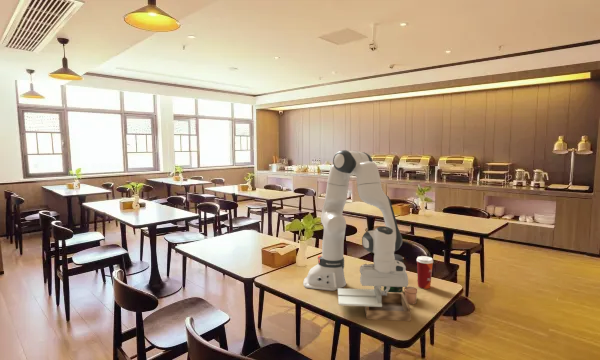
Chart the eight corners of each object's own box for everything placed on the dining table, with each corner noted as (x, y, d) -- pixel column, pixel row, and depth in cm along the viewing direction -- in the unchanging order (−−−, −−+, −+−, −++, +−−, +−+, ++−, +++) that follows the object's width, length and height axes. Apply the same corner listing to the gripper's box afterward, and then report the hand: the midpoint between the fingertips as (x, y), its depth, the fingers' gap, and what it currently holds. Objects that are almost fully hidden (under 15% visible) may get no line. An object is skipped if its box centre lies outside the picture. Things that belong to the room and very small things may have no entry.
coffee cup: (433, 290, 170) (435, 261, 168) (416, 289, 172) (417, 260, 170) (431, 283, 178) (431, 256, 177) (414, 282, 180) (415, 255, 178)
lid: (338, 305, 143) (338, 296, 142) (337, 289, 158) (337, 282, 158) (382, 306, 141) (382, 298, 141) (376, 291, 157) (377, 283, 156)
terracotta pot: (405, 304, 155) (405, 291, 155) (402, 298, 161) (403, 286, 161) (418, 304, 155) (418, 292, 154) (415, 299, 161) (415, 286, 160)
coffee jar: (395, 297, 162) (396, 259, 160) (381, 292, 168) (381, 256, 166) (405, 291, 169) (406, 255, 167) (391, 286, 175) (391, 251, 173)
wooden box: (366, 318, 142) (366, 307, 142) (363, 301, 158) (363, 291, 157) (410, 320, 140) (411, 309, 140) (402, 303, 156) (402, 292, 156)
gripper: (360, 266, 145) (360, 297, 146) (409, 267, 143) (408, 299, 145) (359, 261, 151) (358, 291, 153) (406, 262, 149) (405, 292, 151)
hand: (383, 295), depth 149 cm, fingers closed
